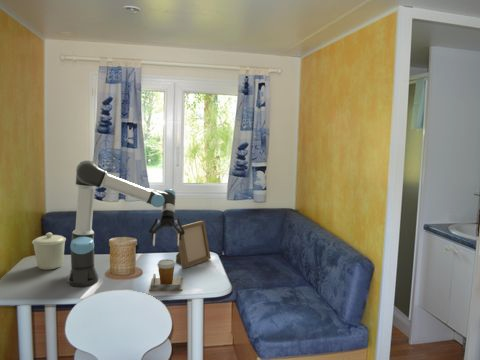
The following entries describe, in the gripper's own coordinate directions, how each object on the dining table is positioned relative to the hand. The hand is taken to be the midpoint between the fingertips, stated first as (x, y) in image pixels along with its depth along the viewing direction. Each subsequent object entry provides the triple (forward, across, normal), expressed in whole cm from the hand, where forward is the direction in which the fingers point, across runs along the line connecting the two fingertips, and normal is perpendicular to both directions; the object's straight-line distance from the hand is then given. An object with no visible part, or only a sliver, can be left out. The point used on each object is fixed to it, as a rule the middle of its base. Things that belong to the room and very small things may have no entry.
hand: (165, 244), depth 221 cm
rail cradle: (+21, -1, -5) cm, 22 cm away
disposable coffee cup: (+21, -1, -5) cm, 21 cm away
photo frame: (-4, -14, -31) cm, 34 cm away
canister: (0, +69, -28) cm, 74 cm away
